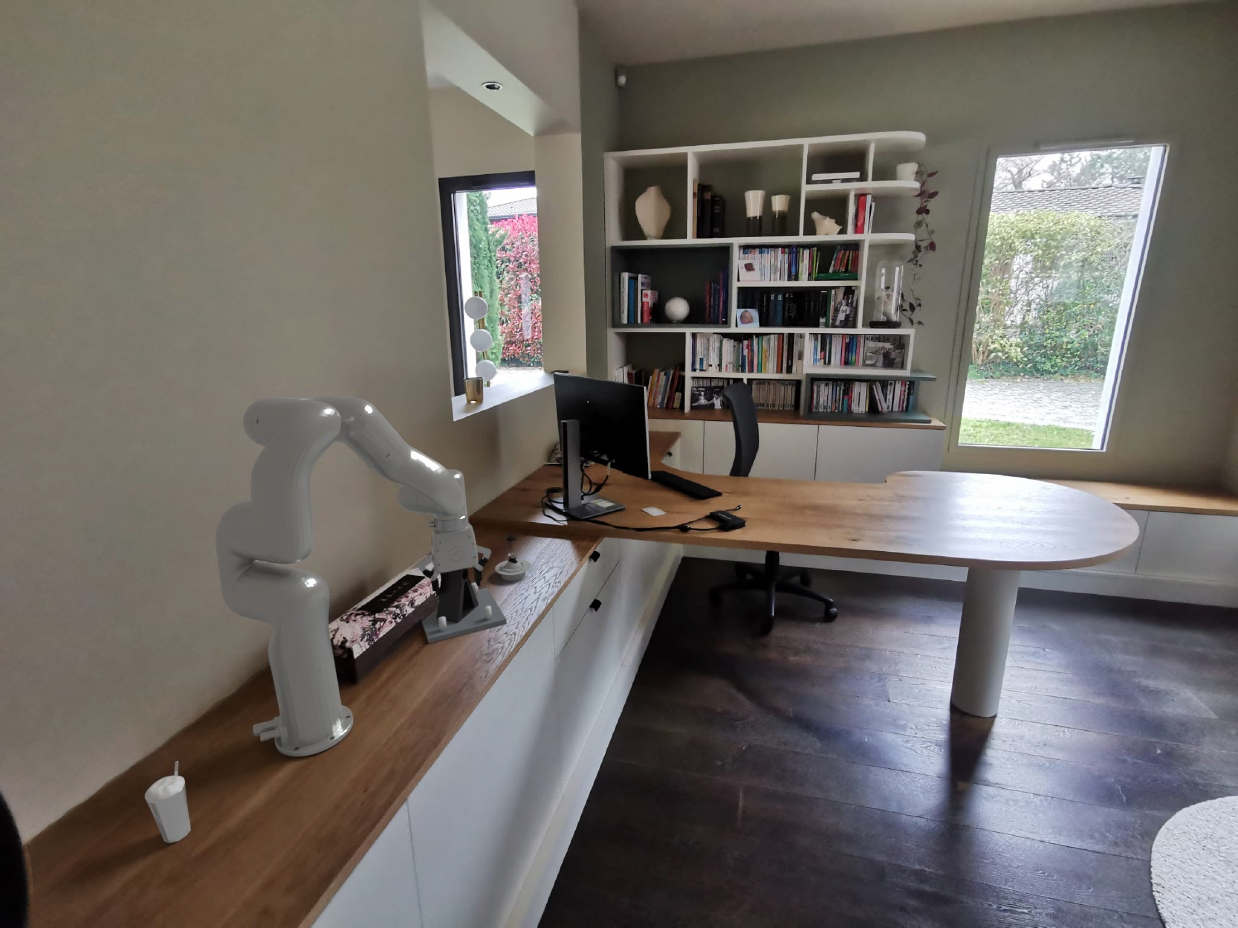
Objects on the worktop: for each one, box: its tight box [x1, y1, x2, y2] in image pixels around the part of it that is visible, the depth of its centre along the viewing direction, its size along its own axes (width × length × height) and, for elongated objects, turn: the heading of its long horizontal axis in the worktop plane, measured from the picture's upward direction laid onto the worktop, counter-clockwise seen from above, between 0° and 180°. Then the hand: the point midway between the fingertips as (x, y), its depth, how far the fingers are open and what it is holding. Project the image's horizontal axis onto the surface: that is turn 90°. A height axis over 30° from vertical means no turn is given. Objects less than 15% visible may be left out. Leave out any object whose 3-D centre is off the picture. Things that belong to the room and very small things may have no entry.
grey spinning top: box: [494, 534, 532, 582], centre depth 164 cm, size 12×10×10 cm
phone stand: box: [437, 568, 479, 623], centre depth 143 cm, size 9×6×12 cm, turn 160°
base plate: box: [420, 582, 508, 644], centre depth 145 cm, size 18×18×4 cm
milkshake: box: [144, 760, 191, 844], centre depth 86 cm, size 5×5×10 cm
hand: (457, 588), depth 144 cm, fingers open, 9 cm apart
